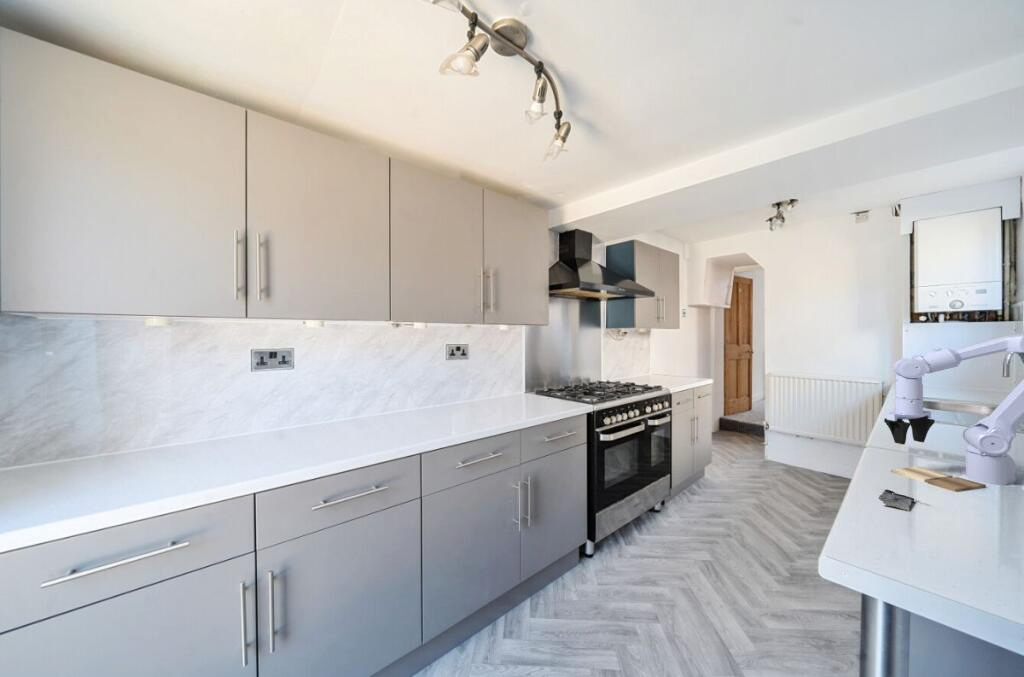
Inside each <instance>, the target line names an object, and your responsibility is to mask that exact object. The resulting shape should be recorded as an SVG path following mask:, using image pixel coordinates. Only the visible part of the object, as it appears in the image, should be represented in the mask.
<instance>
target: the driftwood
mask: <svg viewBox="0 0 1024 677" xmlns="http://www.w3.org/2000/svg"><path fill="white" fill-rule="evenodd" d="M893 492H894V490H891V489H885V490H884V491H883V492H882V493H881V494H880V495H879V497H878V498H877V499H879V501H881V502H882V503H883V504H884V505H883V507H894V508H898V509H902V510H904V511H907V512H908V511H910V506H911V504H912V503H915V498H913V497H910V496H908V495H904V494H898V493H894V494H892V493H893Z"/></svg>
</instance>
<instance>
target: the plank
mask: <svg viewBox="0 0 1024 677" xmlns="http://www.w3.org/2000/svg"><path fill="white" fill-rule="evenodd" d="M890 473H893V474H896V475H899V476H903V477H904V478H905V477H906V478H909V479H912V480H917V481H919V482H922V483H928V481H931V480H938V479H946V478H953V477H954V476H953V475H951V474H949V473H945V472H944V473H943V472H940V471H938V470H937V471H936V470H933V469H930V468H926V467H921V466H918V465H917V466H910V467H902V468H895V469H890Z"/></svg>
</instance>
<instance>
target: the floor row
mask: <svg viewBox="0 0 1024 677" xmlns="http://www.w3.org/2000/svg"><path fill="white" fill-rule="evenodd" d="M927 484H928V485H932V486H935V487H938V488H941V489H945V490H947V491H952V492H956V493H957V492H965V491H969V490H977V489H985V488H987V486H986V485H987V484H986V483H982V482H978V481H974V480H971V479H967V478H964V477H963V478H961V477H959V476H955V477H954V476H953V478H946V479H938V480H931V481H928V482H927Z"/></svg>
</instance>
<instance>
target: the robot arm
mask: <svg viewBox="0 0 1024 677" xmlns="http://www.w3.org/2000/svg"><path fill="white" fill-rule="evenodd" d="M932 350H933V351H929V352H926V353H923V354H912V355H911V357H912V358H907V357H906V358H905V357H904V358H900V359H898V360H896V361H895V363H894V364H893V366H892V371H893V372H894V373H895V386H894V390H895V398H894V399H895V409H892V410H891V412H888V413H886V418H884V419H883V422H884V423H885V425H886V426H887V427H888V428H889V431H890V433H891V437H892V439H893V441H894V444H899V445H905V444H906V441H907V434H908V430H909V428H910V427H911V432H912V434H911V435H912V439H913V441H914V442H918V443H925V441H926V438H927V435H928V432H929V430H930V429H931V427H932V426H933V425H934V424H935V423H936V420H935V419H933V418H932V411H929V410H924V393H923V392H924V390H923V389H924V387H923V386H924V384H923V377H924V376H925V375H926V374H933V373H936V372H941V371H944V370H948V369H953V368H957V367H958V366H960V364H961V362H962V361H966V360H970V359H975V358H979V357H983V356H989V355H994V354H997V353H1003V352H1008V353H1009V352H1010V353H1019V354H1020V355H1021V356H1022V357H1024V332H1022V333H1021V332H1020V333H1018V334H1016V333H1015V334H1009V335H1005V336H1001V337H996V338H993V339H990V340H985V341H983V342H979V343H976V344H972V345H968V346H965V347H961V348H958V349H951V348H946V347H945V348H940V347H936V348H933V349H932ZM905 420H907V421H908V422H907V421H905ZM1023 422H1024V379H1022V380H1021V381H1020V382H1019V383H1018V385H1017V386H1016V387H1015V388H1014V389H1013V390H1012V391H1011V392H1010V393H1009V394H1008V395H1007V396H1006V397H1005V398H1004V399H1003V400H1002V401H1001V402H1000V404H999V405H997V406H996V408H995V409H994V410H993V411H992V412H991V413H990V414H989V415H988V416H987V417H984V418H983V417H982V418H981V419H979V420H978V422H976V423H975V424H973V425H969V426H967V427H966V428H964V430H963V431H962V438H963V440H964V441H965V442H966V443H967V446H965V449H964V450H965V451H964V452H965V454H964V455H965V457H964V458H965V477H966V479H968V480H970V481H974V482H977V483H981V484H989V485H995V486H1006V485H1009V484H1011V483H1016V462H1015V460H1014V459H1013V458H1012V456H1011V455H1009V454H1008V452H1009V451H1010V450H1011V448H1012V442H1013V440H1014V439H1015V438H1016V435H1017V428H1018V427H1019V426H1020V425H1021V424H1022V423H1023Z"/></svg>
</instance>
